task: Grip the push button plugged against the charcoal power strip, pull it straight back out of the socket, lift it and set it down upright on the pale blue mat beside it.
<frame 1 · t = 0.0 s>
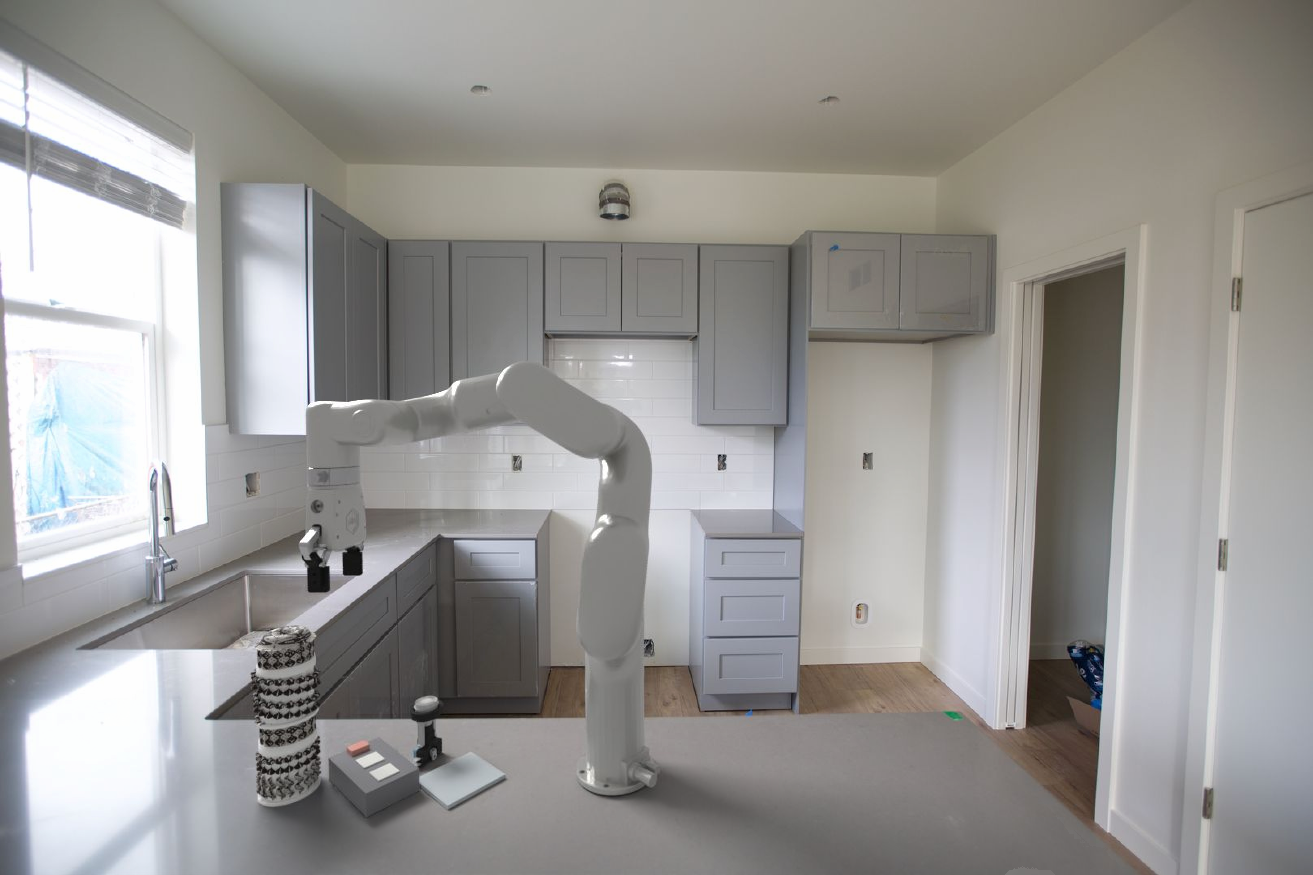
hand: (336, 583, 94), 31 cm above the countertop, tool pointing down, fingers open, 9 cm apart
pale blue mat: (460, 780, 93), on the countertop
decorative candle: (289, 790, 91), on the countertop
power strip: (373, 784, 92), on the countertop
push button: (424, 761, 98), on the countertop
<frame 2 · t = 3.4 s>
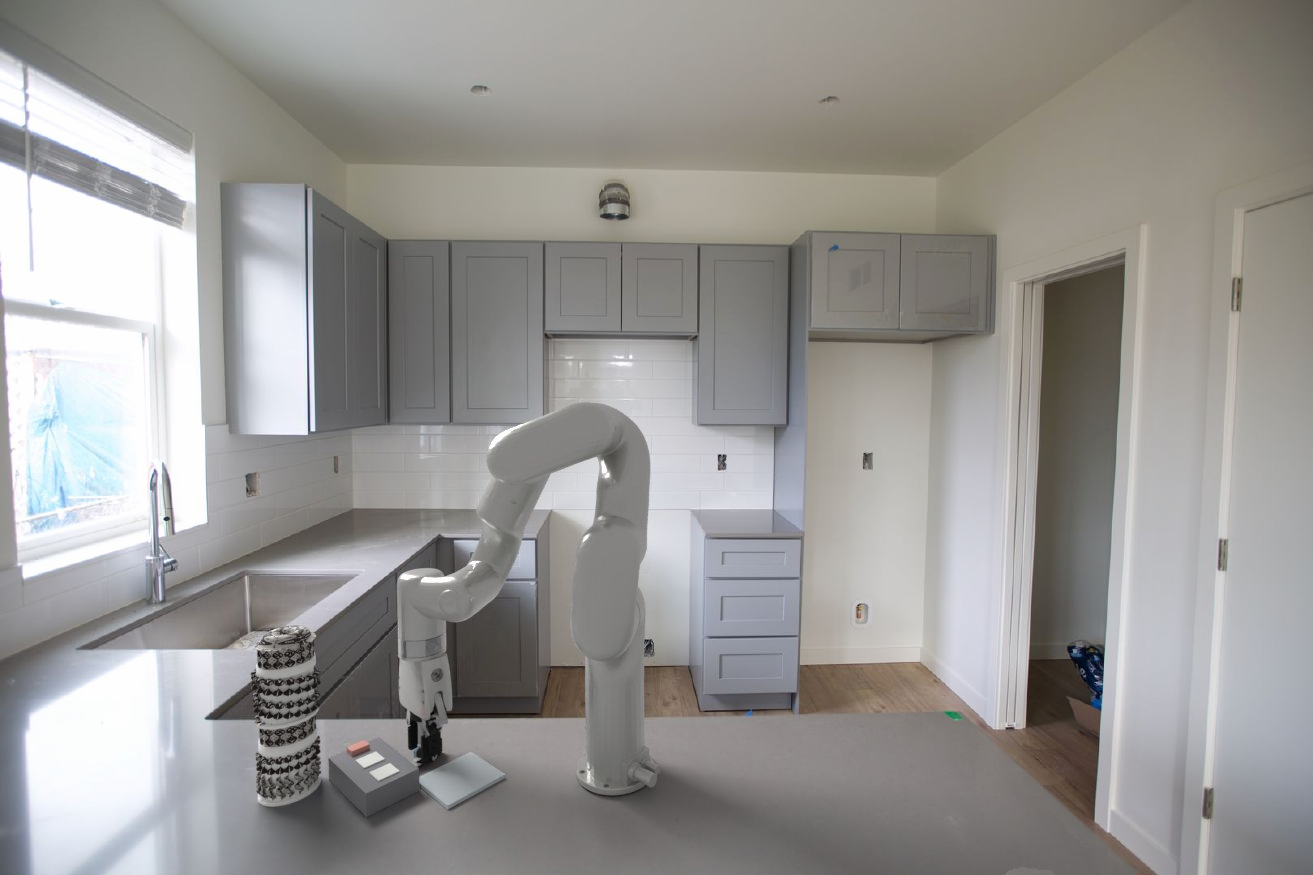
hand: (424, 750, 98), 2 cm above the countertop, tool pointing down, fingers closed on push button, 3 cm apart
push button: (425, 762, 98), on the countertop, touching gripper
everything else where it was.
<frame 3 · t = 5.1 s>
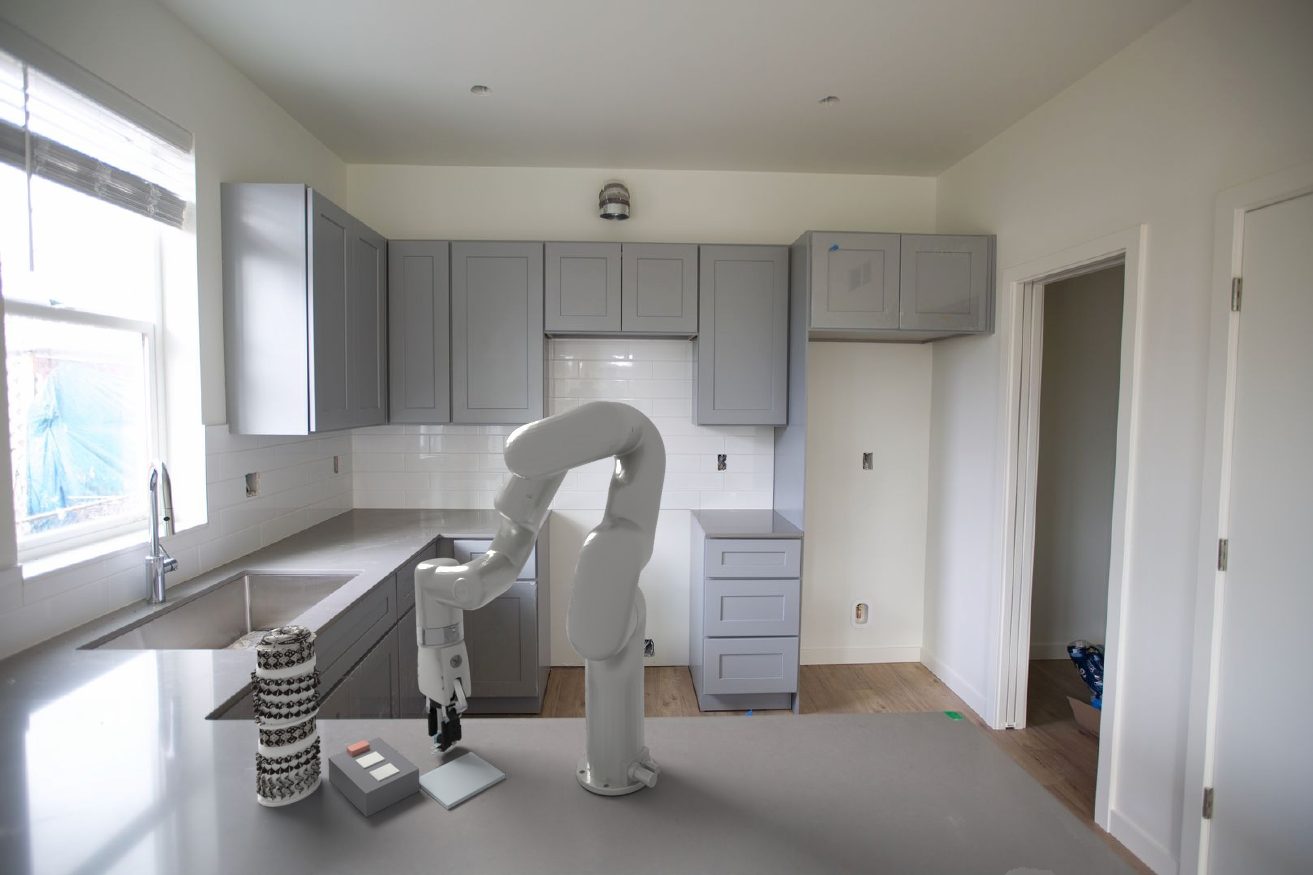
hand: (444, 736, 100), 3 cm above the countertop, tool pointing down, fingers closed on push button, 3 cm apart
push button: (445, 747, 100), point 1 cm above the countertop, touching gripper
everything else where it was.
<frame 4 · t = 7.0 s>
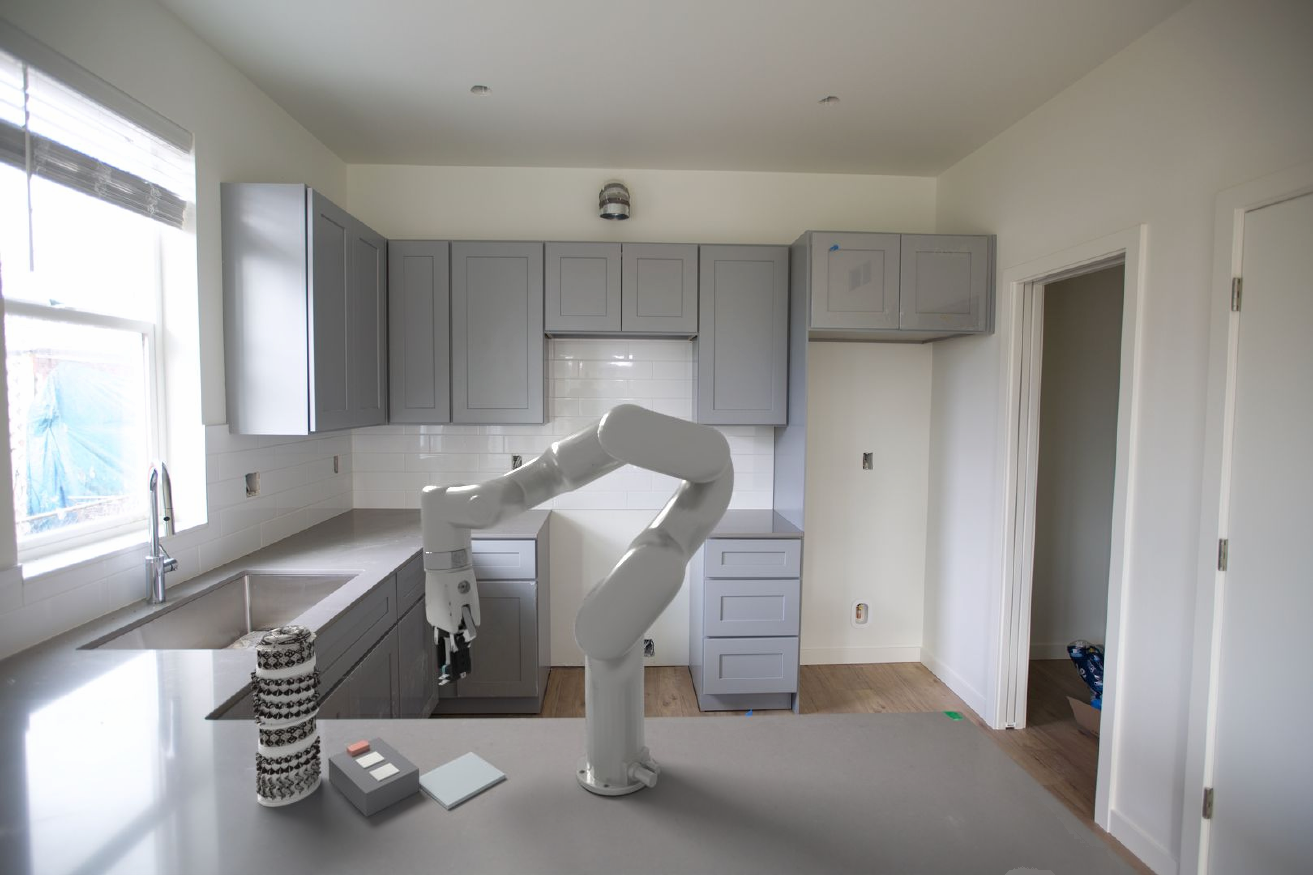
hand: (453, 668, 96), 17 cm above the countertop, tool pointing down, fingers closed on push button, 3 cm apart
push button: (454, 680, 96), point 15 cm above the countertop, touching gripper
everything else where it was.
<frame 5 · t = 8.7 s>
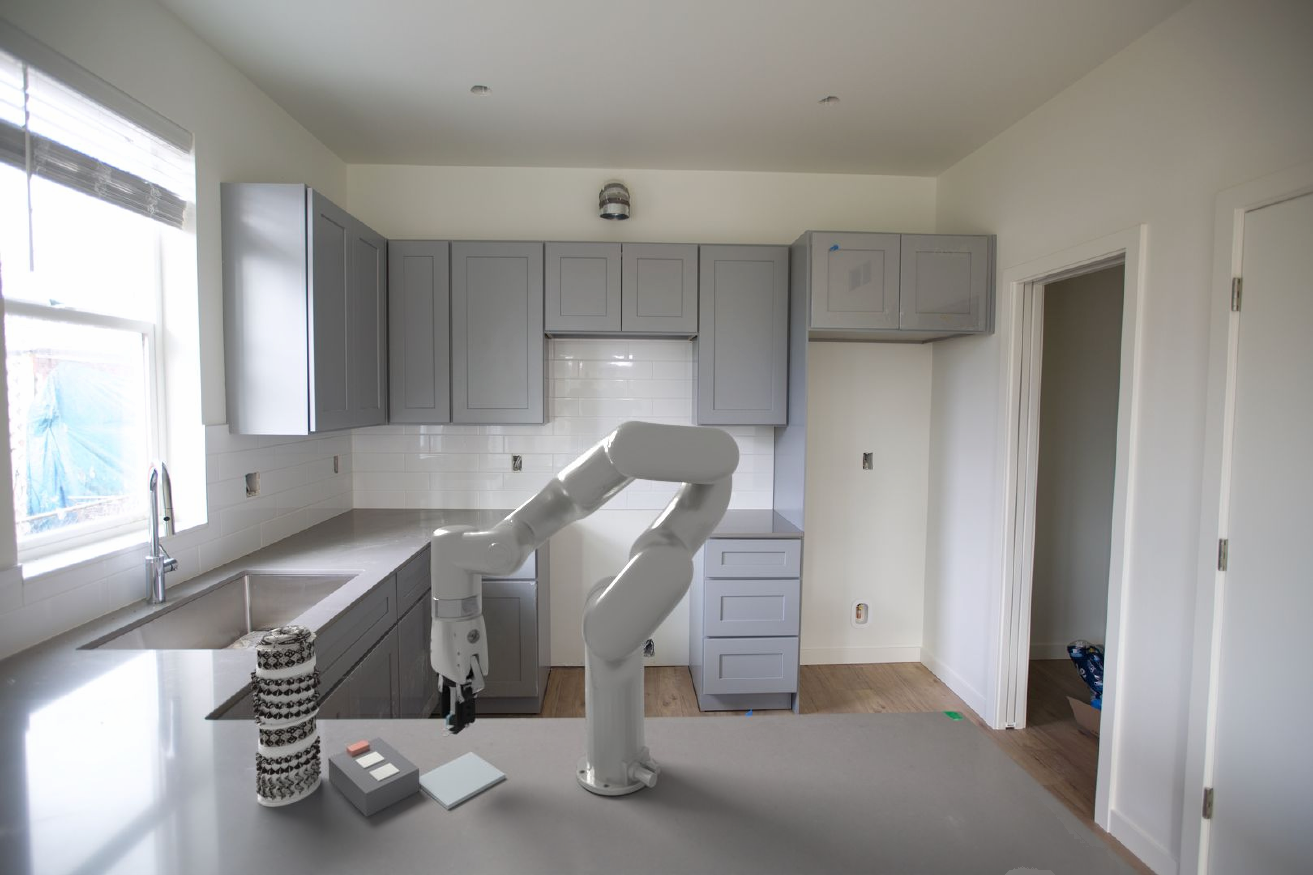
hand: (457, 717, 93), 10 cm above the countertop, tool pointing down, fingers closed on push button, 3 cm apart
push button: (457, 730, 92), point 8 cm above the countertop, touching gripper
everything else where it was.
when the fingers open (4 cm above the countertop, at t = 10.5 s): push button drops 1 cm, resting on pale blue mat.
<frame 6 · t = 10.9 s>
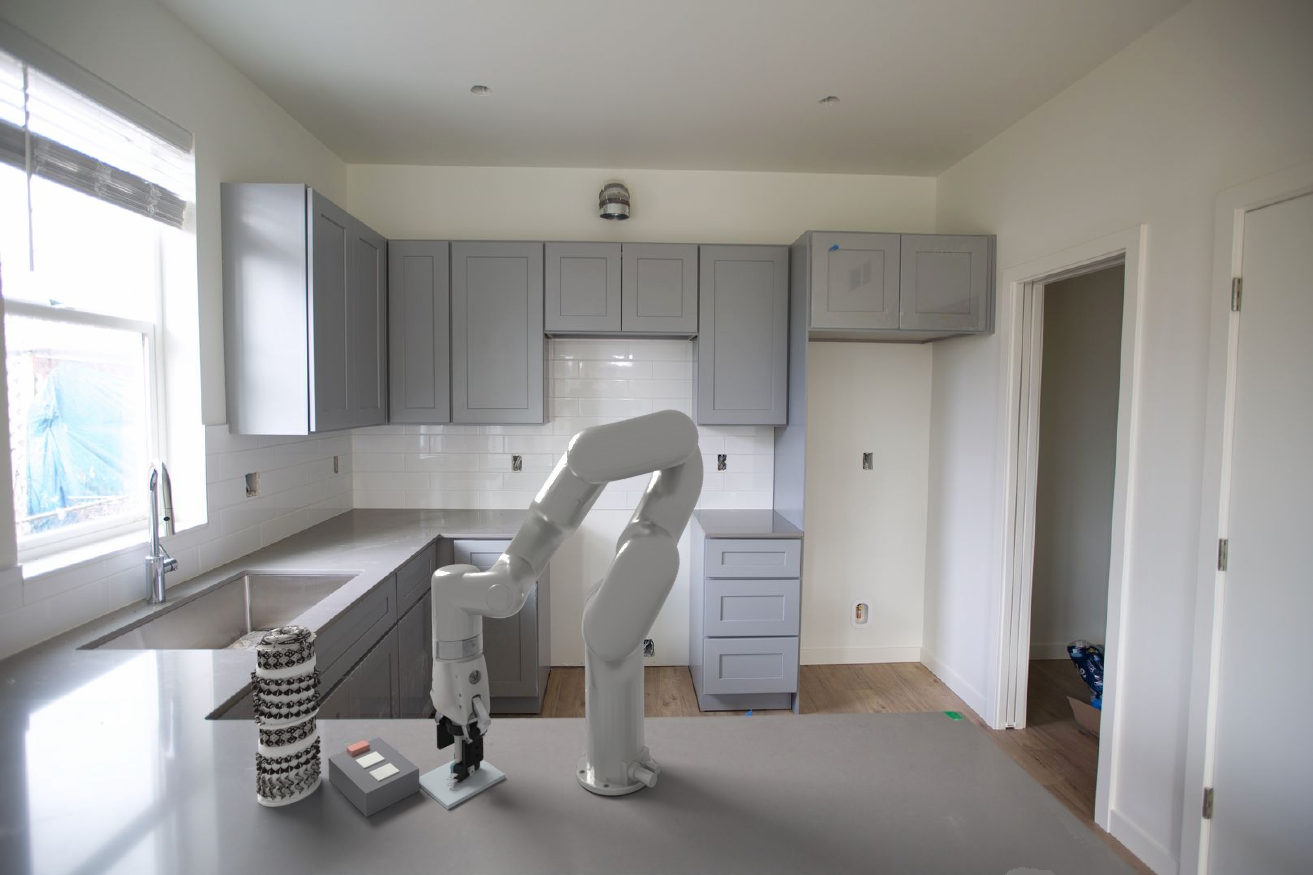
hand: (459, 753, 93), 4 cm above the countertop, tool pointing down, fingers open, 7 cm apart
push button: (462, 777, 93), resting on pale blue mat
everything else where it was.
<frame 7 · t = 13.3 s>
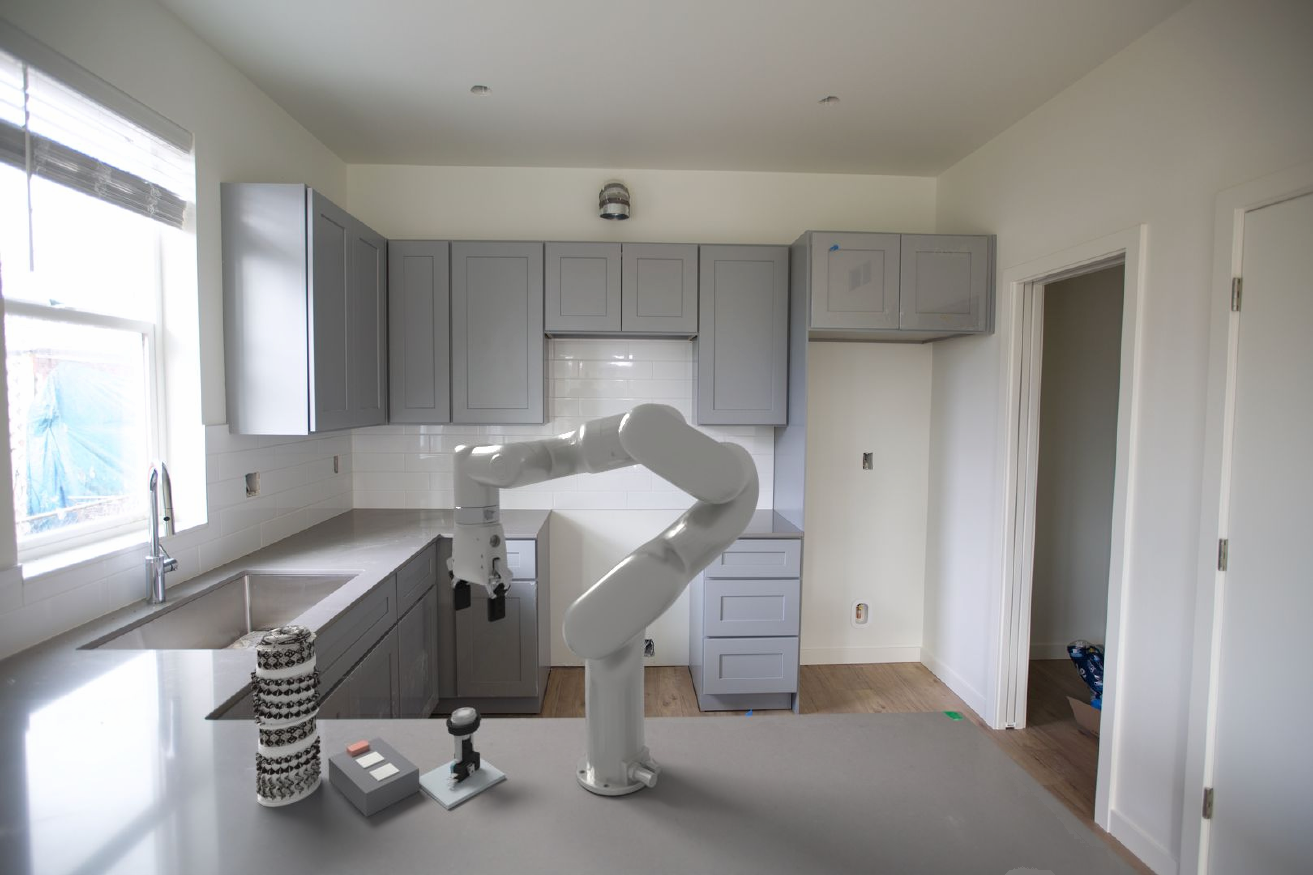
hand: (478, 613, 100), 24 cm above the countertop, tool pointing down, fingers open, 9 cm apart
nothing on the countertop moved.
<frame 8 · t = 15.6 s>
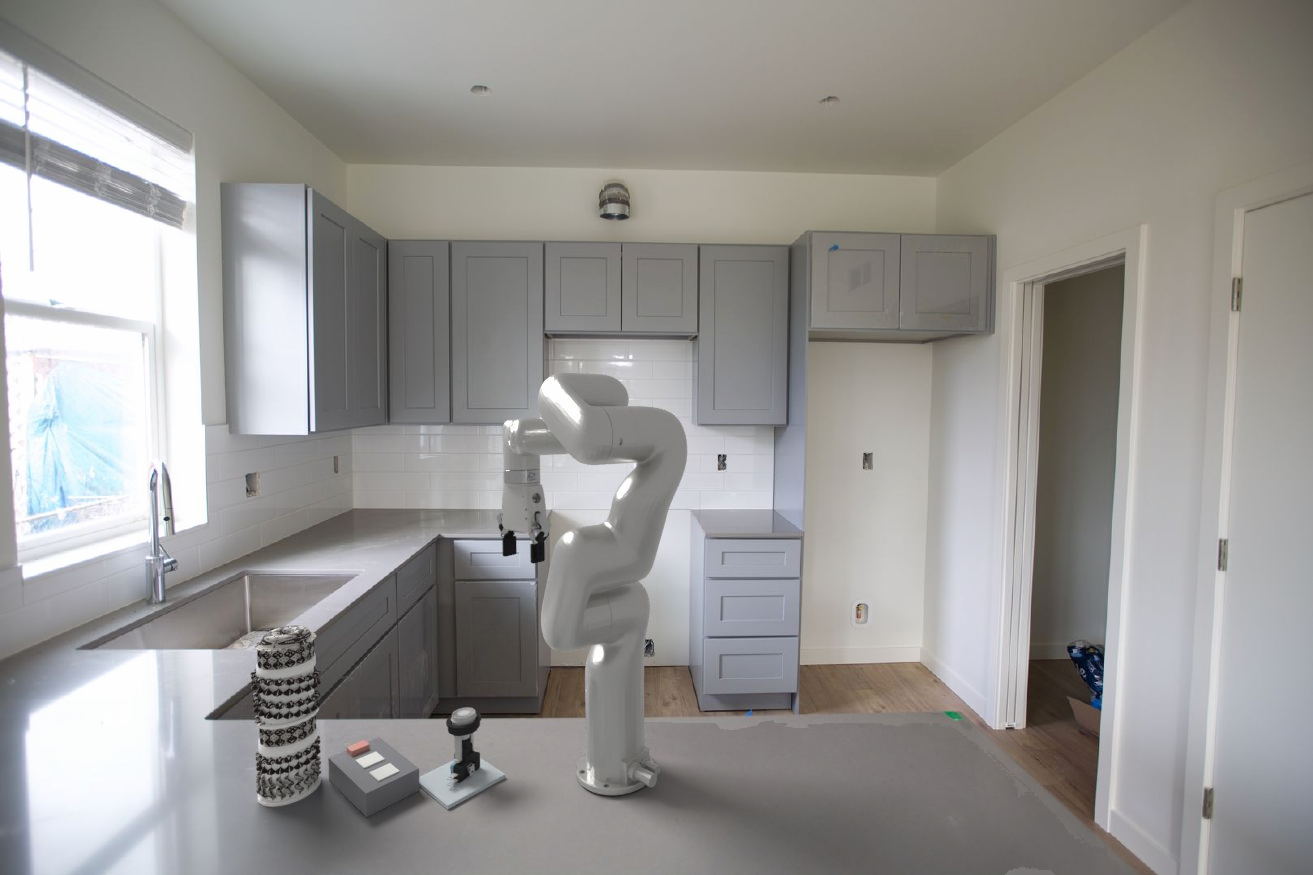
hand: (523, 558, 123), 28 cm above the countertop, tool pointing down, fingers open, 9 cm apart
nothing on the countertop moved.
at the end: push button inside the target area (0.4 cm from its centre), on the countertop; push button tilted 0°; the gripper is holding nothing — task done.
